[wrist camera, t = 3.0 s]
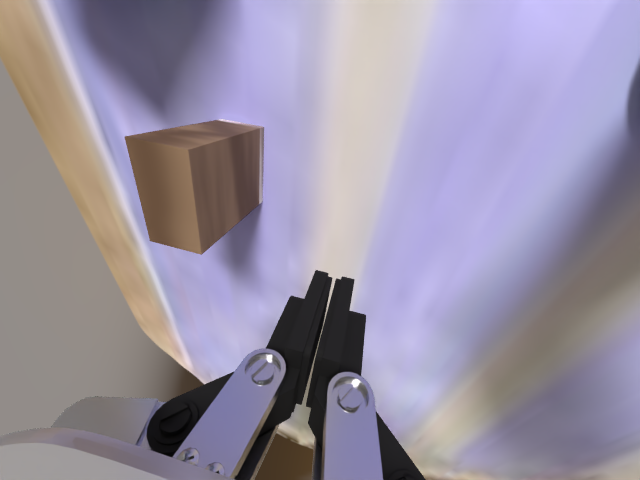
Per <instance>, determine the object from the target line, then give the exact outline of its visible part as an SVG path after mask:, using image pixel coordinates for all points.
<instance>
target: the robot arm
mask: <svg viewBox="0 0 640 480" xmlns="http://www.w3.org/2000/svg"><path fill="white" fill-rule="evenodd" d="M331 282H332V277H328V273H326V272H322V271H318V270H316V271H315V273H314V276H313V279H312V281H311V284H310V286H309V289H308V291H307V294H306V296H305V299H302V298H298V297H294V296H291V297H290V298H289V300H288V302H287V304H286V306H285V309H284V311H283V313H282V315H281V317H280V319H279V321H278V324H277V326H276V328H275V330H274V332H273V334H272V336H271V339H270V341H269V343H268V345H267V347H266V349H259V350H255V351H253V352H251V353H250V354H248V355H247V356H246V357H245V358H244V360H243V361H242V362H241V364H240V365H239V366H238V368H237V369H236V371H234V372H232V373H230V374H228V375H225V376H223V377H221V378H218V379H216V380H214V381H212V382H209V383H207V384H205V385H203V386H200V387H199V388H196V389H194V390H191V391H189V392H187V393H184V394H182V395H180V396H178V397H175V398H173V399H171V400H170V401H168V402H158V399H148V398H123V397H98V396H97V397H96V396H95V397H88V398H85V399H82V400H80V401H78V402H76V403H74V404H73V405H71V406H70V407H68V408H67V409H66V410H65V411H64V412H63V413H62V414H61V415H60V416H59V417H58V418H57V420H56V421H55V422H54V424H53V425H52V426H51V428H37V429H30V430H24V431H18V432H13V433H9V434H5V435H2V436H0V480H254V478H255V476H256V474H257V472H258V470H259V468H260V466H261V463H262V461H263V459H264V456H265V455H266V453H267V451H268V448H269V446H270V444H271V442H272V440H273V438H274V436H275V434H276V432H277V429H278V427H279V424H280V423H282V422H284V421H285V420H287V419H289V418H290V416H291V413H292V412H294V409H295V405H296V403H297V404H300V405H301V404H302V401H303V397H304V393H305V390H306V386H307V382H308V379H309V375H310V371H311V367H312V364H313V360H314V356H315V353H316V349H317V345H318V341H319V338H320V334H321V330H322V326H323V322H324V317H325V312H326V307H327V302H328V297H329V292H330V287H331ZM353 285H354V279H351V278H347V277H342V278H341V280H340V279H336V281H335V285H334V289H333V293H332V296H331V300H330V304H329V308H328V312H327V315H326V319H325V323H324V327H323V331H322V334H321V338H320V342H319V346H318V350H317V354H316V358H315V363H314V368H313V373H312V378H311V383H310V388H309V393H308V398H307V403H306V406H307V407H310V408H311V412H310V417H309V421H308V424H309V426H310V428H311V430H312V432H313V434H314V436H315V441H314V456H313V469H312V480H425V478H424V477H423V475H422V474H421V473H420V471H419V470H418V469H417V467H416V466H415V464H414V463H413V462H412V460H411V459H410V457H409V456H408V455H407V453H406V452H405V451H404V449H403V448H402V446H401V445H400V444H399V442H398V441H397V440H396V438H395V437H394V435H393V434H392V433H391V431H390V430H389V429H388V427H387V426H386V424H385V423H384V422H383V420H382V419H381V417H380V416H379V415H378V413H377V412H376V409H375V400H374V395H373V391H372V389H371V387H370V385H369V383H368V382H367V381H366V380H365V379H364V378H363V377H361V369H362V357H363V346H364V334H365V323H366V315H364V314H360V313H357V312H353V311H349V309H350V303H351V297H352V291H353Z"/></svg>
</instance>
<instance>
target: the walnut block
mask: <svg viewBox="0 0 640 480" xmlns="http://www.w3.org/2000/svg"><path fill="white" fill-rule="evenodd" d="M125 140H126V144H127V148H128V153H129V157H130V161H131V165H132V169H133V173H134V177H135V181H136V185H137V189H138V193H139V197H140V201H141V206H142V210H143V214H144V218H145V222H146V226H147V230H148V234H149V238H150V241H152V242H156V243H160V244H164V245H167V246H171V247H175V248H179V249H183V250H186V251H190V252H194V253H198V254H201V255H202V254H203V253H204V252H205V251H206V250H207V249H209V248H210V247H211V246H212V245H213V244H214V243H215V242H217V241H218V240H219V239H220V238H221V237H222V236H224V235H225V234H226V233H227V232H228V231H229V230H230V229H232V228H233V227H234V226H235V225H236V224H237V223H238V222H240V221H241V220H242V219H243V218H244V217H245V216H247V215H248V214H249V213H250V212H251V211H252V210H253V209H255V208H256V207H257V206H258V205H259V204H260V203H262V202H263V151H264V127H261V126H256V125H250V124H245V123H240V122H234V121H229V120H223V119H220V120H214V121H209V122H203V123H198V124H192V125H187V126H181V127H175V128H170V129H164V130H159V131H153V132H148V133H142V134H137V135H131V136H125Z"/></svg>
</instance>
